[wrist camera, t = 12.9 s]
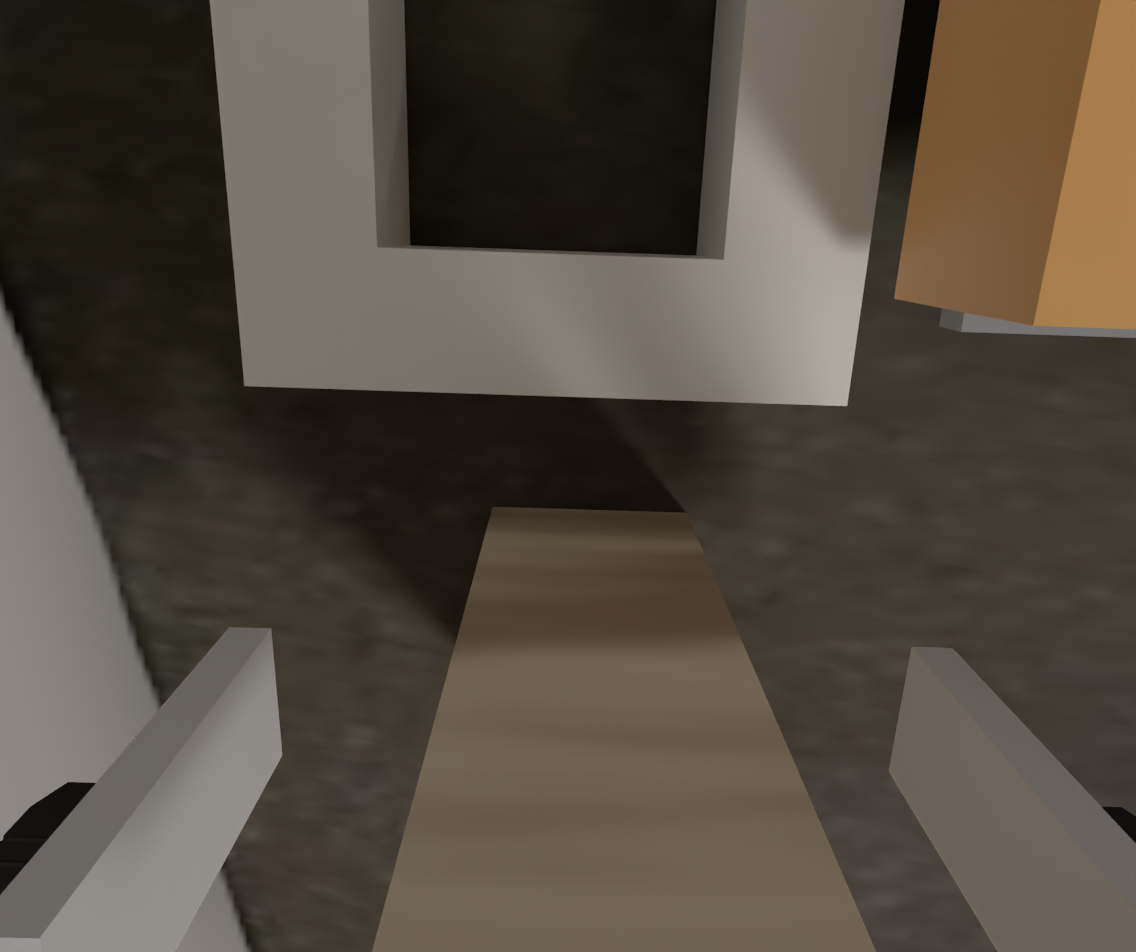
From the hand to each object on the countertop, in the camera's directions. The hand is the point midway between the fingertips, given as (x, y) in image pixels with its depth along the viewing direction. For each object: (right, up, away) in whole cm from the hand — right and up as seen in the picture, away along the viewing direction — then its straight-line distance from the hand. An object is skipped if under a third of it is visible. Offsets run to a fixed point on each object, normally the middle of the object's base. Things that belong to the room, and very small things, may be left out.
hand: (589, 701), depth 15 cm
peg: (0, +1, +4) cm, 4 cm away
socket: (-1, +12, +1) cm, 12 cm away
